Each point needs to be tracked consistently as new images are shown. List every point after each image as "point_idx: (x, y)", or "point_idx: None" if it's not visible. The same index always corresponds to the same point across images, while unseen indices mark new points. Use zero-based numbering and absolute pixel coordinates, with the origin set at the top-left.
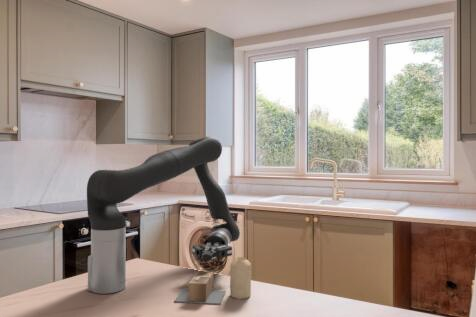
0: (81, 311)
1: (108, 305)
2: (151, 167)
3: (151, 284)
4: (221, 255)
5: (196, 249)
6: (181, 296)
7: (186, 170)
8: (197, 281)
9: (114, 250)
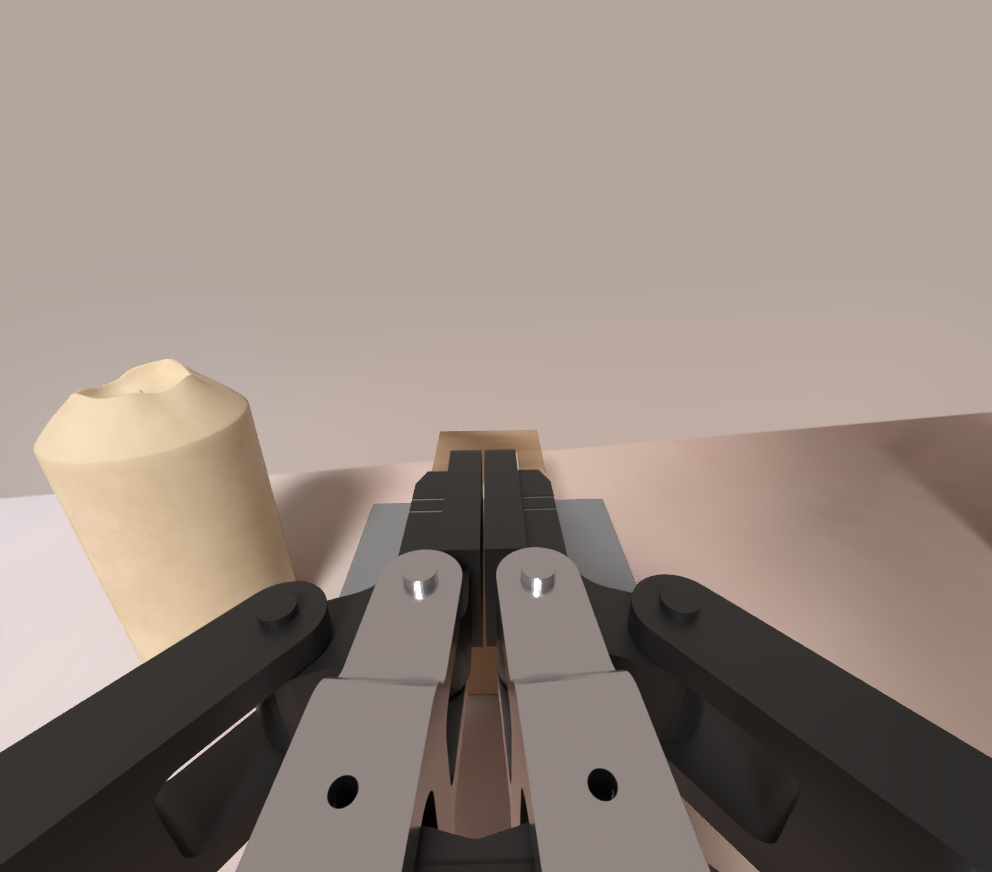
0: (866, 427)
1: (840, 458)
2: None
3: None
4: (218, 805)
5: (848, 702)
6: (594, 538)
7: None
8: (496, 446)
9: None
